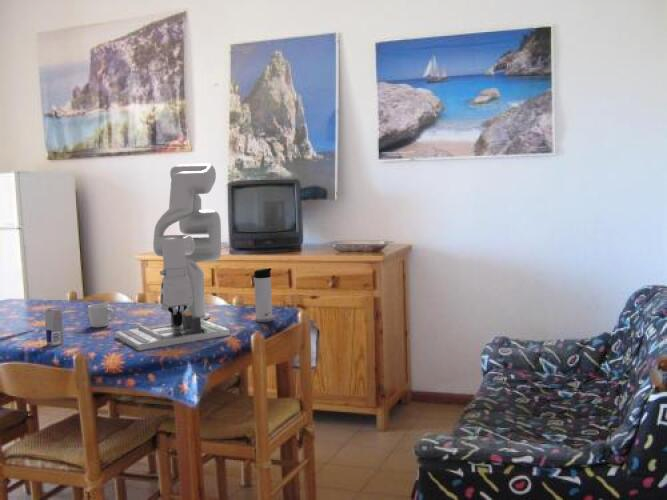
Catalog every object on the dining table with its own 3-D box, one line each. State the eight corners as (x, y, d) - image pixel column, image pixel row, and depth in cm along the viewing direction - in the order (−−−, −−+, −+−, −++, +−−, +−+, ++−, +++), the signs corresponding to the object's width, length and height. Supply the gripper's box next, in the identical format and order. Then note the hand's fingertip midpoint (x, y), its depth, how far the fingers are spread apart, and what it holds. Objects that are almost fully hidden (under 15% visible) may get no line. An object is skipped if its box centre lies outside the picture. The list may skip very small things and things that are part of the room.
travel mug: (270, 322, 254) (268, 269, 251) (253, 322, 255) (251, 269, 253) (275, 319, 260) (273, 267, 258) (258, 318, 261) (256, 267, 259)
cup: (121, 324, 258) (120, 304, 257) (108, 329, 250) (107, 308, 249) (98, 323, 261) (96, 303, 260) (84, 328, 254) (82, 307, 253)
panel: (115, 337, 236) (114, 316, 236) (201, 324, 254) (200, 304, 254) (138, 350, 217) (137, 328, 216) (229, 335, 235) (228, 314, 234)
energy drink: (49, 342, 231) (47, 308, 230) (66, 341, 232) (63, 307, 231) (44, 346, 226) (41, 311, 225) (61, 345, 227) (58, 310, 225)
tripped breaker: (183, 327, 239) (182, 313, 239) (189, 326, 241) (188, 312, 240) (186, 328, 237) (185, 314, 236) (192, 327, 238) (192, 313, 238)
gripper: (157, 276, 227) (160, 330, 229) (199, 271, 236) (202, 323, 238) (150, 274, 234) (153, 326, 235) (191, 269, 242) (193, 320, 244)
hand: (177, 325), depth 236 cm, fingers closed
